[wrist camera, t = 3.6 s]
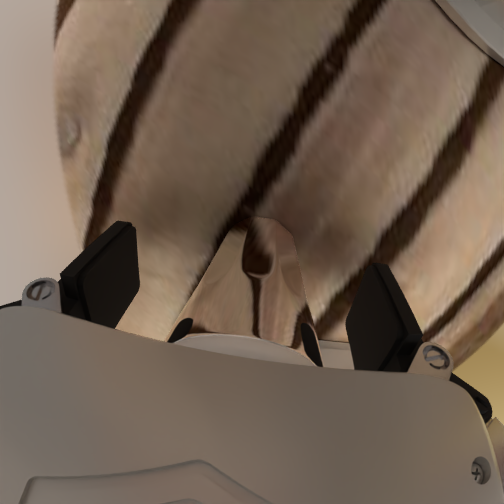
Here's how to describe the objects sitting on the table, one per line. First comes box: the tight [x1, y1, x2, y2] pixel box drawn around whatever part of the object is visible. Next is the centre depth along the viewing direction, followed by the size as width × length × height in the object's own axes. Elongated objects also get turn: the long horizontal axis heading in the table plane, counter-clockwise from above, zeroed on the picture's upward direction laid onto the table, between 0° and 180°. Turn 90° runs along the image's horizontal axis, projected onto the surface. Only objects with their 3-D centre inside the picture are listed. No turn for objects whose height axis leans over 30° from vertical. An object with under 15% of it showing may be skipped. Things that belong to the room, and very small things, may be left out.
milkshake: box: [164, 216, 325, 367], centre depth 9 cm, size 4×5×10 cm
